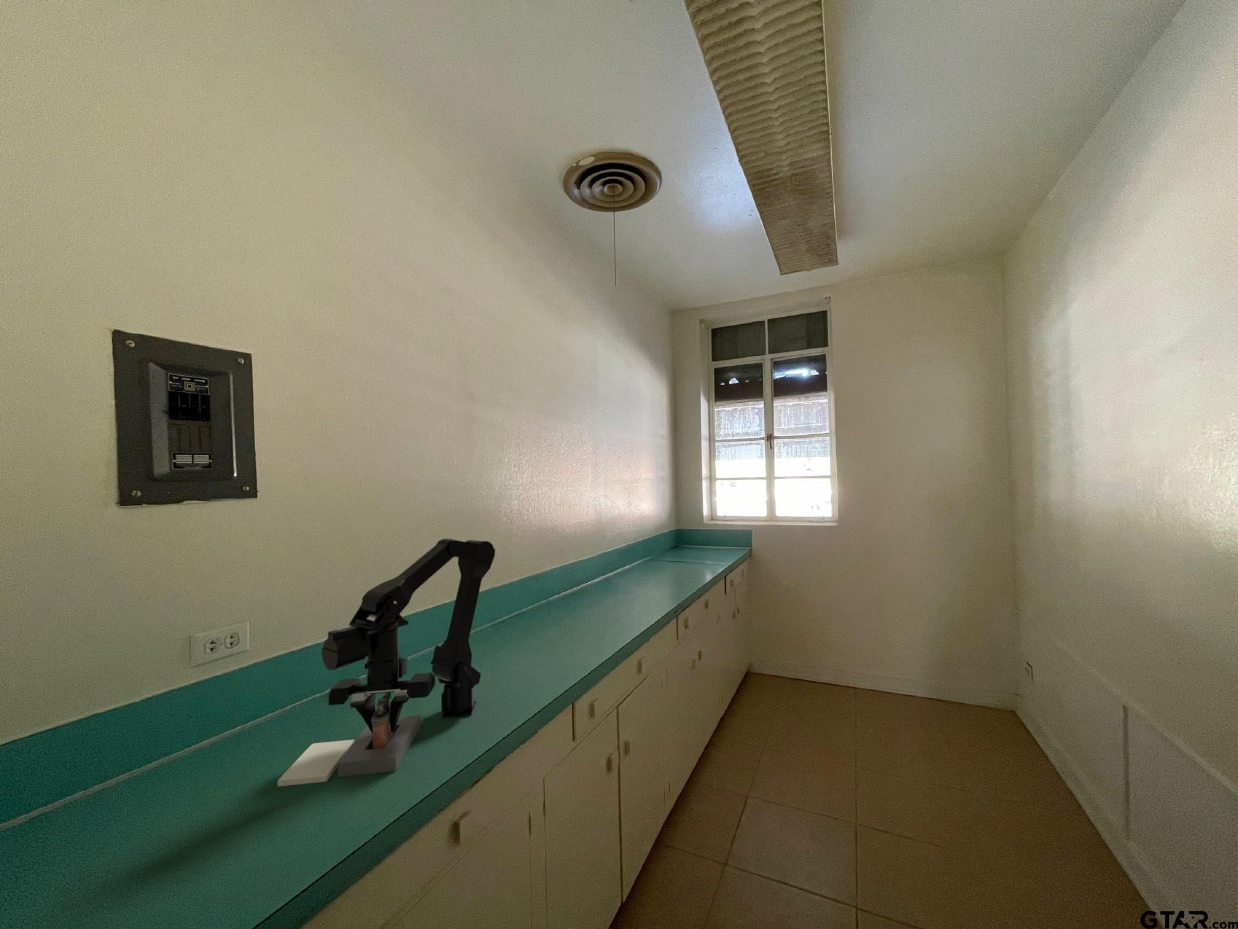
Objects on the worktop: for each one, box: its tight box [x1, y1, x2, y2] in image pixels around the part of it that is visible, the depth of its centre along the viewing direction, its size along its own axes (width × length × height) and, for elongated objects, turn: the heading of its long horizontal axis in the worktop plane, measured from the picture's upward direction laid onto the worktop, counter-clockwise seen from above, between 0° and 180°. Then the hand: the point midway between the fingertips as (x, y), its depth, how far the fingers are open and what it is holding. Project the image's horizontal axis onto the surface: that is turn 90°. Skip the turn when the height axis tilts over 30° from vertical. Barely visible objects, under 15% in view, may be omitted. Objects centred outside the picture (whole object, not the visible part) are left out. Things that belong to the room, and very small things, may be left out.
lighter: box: [371, 692, 395, 749], centre depth 95 cm, size 8×3×10 cm, turn 9°
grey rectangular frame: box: [337, 714, 422, 778], centre depth 94 cm, size 10×16×2 cm, turn 8°
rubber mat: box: [277, 739, 356, 787], centre depth 90 cm, size 8×12×1 cm, turn 8°
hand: (383, 731), depth 94 cm, fingers closed on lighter, 3 cm apart
